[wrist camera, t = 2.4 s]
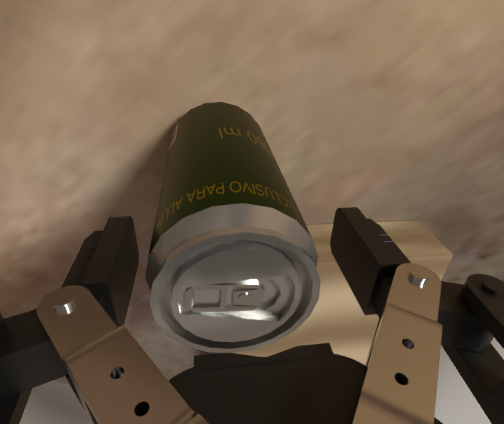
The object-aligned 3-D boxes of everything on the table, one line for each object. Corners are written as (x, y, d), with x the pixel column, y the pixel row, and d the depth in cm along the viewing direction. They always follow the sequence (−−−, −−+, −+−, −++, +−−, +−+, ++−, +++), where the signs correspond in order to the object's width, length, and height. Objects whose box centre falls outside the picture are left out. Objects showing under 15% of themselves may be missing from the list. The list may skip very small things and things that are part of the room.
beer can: (171, 183, 20) (146, 362, 11) (169, 94, 18) (133, 222, 8) (256, 187, 21) (308, 353, 11) (268, 102, 19) (350, 226, 9)
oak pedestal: (232, 227, 23) (238, 267, 20) (419, 220, 25) (453, 255, 22) (229, 351, 30) (233, 395, 27) (372, 338, 32) (392, 378, 29)
